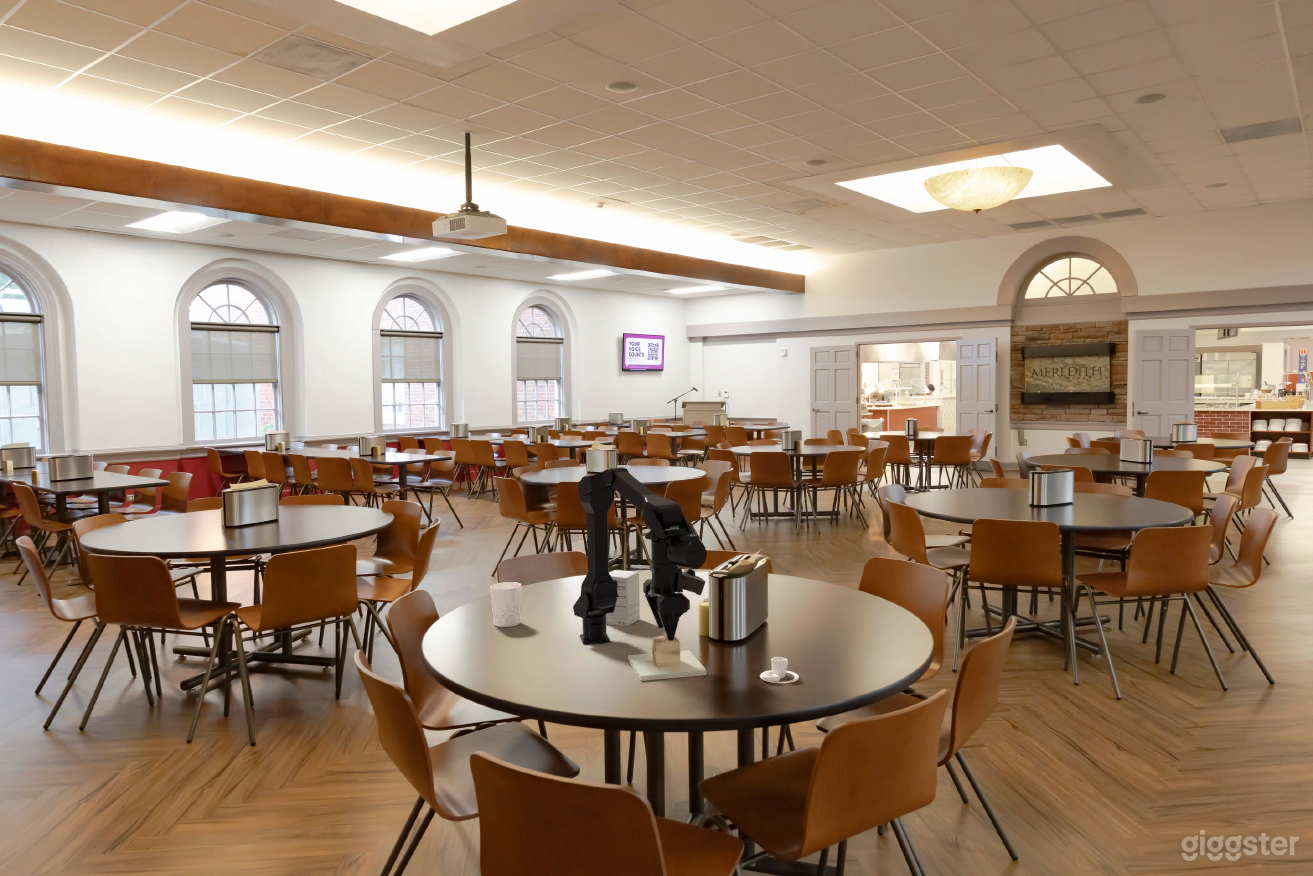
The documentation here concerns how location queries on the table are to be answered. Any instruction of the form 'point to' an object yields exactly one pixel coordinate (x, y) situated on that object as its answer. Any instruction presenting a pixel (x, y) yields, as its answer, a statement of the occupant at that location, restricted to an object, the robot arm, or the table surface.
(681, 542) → the robot arm
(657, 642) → the maple cube
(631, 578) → the supplement box
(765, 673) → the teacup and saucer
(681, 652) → the sage board
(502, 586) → the white cup
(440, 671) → the table surface
